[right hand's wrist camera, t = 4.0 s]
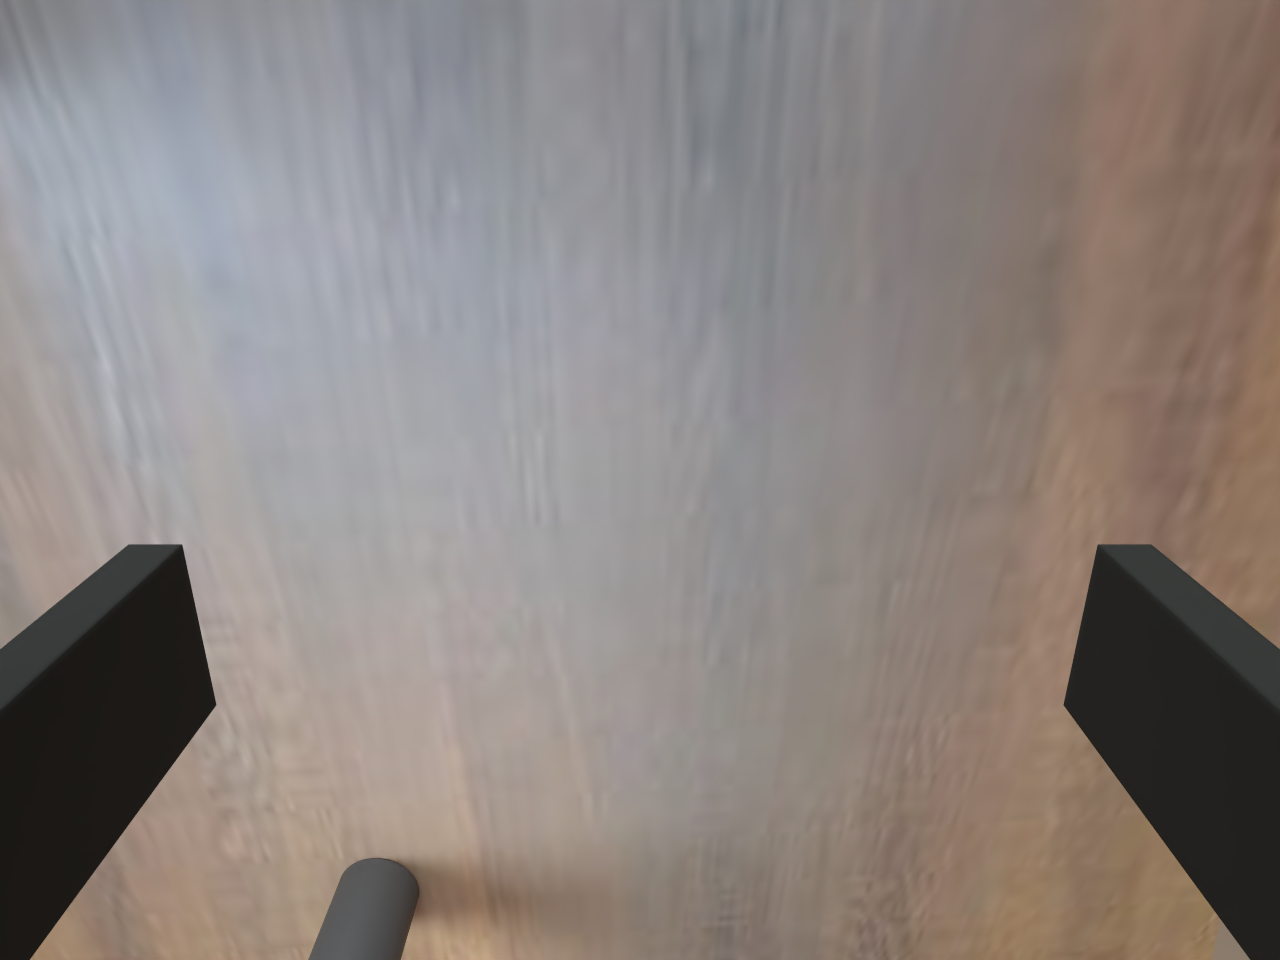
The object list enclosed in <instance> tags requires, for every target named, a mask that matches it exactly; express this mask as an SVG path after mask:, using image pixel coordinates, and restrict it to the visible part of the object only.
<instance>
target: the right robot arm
mask: <svg viewBox="0 0 1280 960" xmlns="http://www.w3.org/2000/svg"><path fill="white" fill-rule="evenodd" d="M215 706H216V701H215V696H214V692H213V687H212V682H211V677H210V673H209V668H208V663H207V659H206V654H205V649H204V645H203V640H202V635H201V631H200V626H199V621H198V616H197V612H196V607H195V602H194V598H193V593H192V588H191V584H190V579H189V574H188V570H187V565H186V560H185V556H184V551H183V546H182V545H128V546H126V547H125V548H124V549H123V550H121V551H120V552H119V553H118V554H117V555H115V556H114V557H113V558H112V559H110V560H109V561H108V562H107V563H106V564H104V565H103V566H102V567H101V568H99V569H98V570H97V571H96V572H95V573H93V574H92V575H91V576H90V577H88V578H87V579H86V580H85V581H83V582H82V583H81V584H80V585H79V586H77V587H76V588H75V589H74V590H72V591H71V592H70V593H69V594H68V595H66V596H65V597H64V598H63V599H61V600H60V601H59V602H58V603H57V604H55V605H54V606H53V607H52V608H50V609H49V610H48V611H47V612H46V613H44V614H43V615H42V616H41V617H39V618H38V619H37V620H36V621H34V622H33V623H32V624H31V625H30V626H28V627H27V628H26V629H25V630H23V631H22V632H21V633H20V634H19V635H17V636H16V637H15V638H14V639H12V640H11V641H10V642H9V643H8V644H6V645H5V646H4V647H3V648H1V649H0V960H30V959H31V957H32V956H33V954H34V953H35V952H36V950H37V949H38V948H39V946H40V945H41V944H42V942H43V941H44V939H45V938H46V937H47V935H48V934H49V933H50V931H51V930H52V929H53V927H54V926H55V924H56V923H57V922H58V920H59V919H60V918H61V916H62V915H63V914H64V912H65V911H66V909H67V908H68V907H69V905H70V904H71V903H72V901H73V900H74V899H75V897H76V896H77V894H78V893H79V892H80V890H81V889H82V888H83V886H84V885H85V884H86V882H87V881H88V879H89V878H90V877H91V875H92V874H93V873H94V871H95V870H96V869H97V867H98V866H99V864H100V863H101V862H102V860H103V859H104V858H105V856H106V855H107V854H108V852H109V851H110V849H111V848H112V847H113V845H114V844H115V843H116V841H117V840H118V839H119V837H120V836H121V834H122V833H123V832H124V830H125V829H126V828H127V826H128V825H129V824H130V822H131V821H132V819H133V818H134V817H135V815H136V814H137V813H138V811H139V810H140V809H141V807H142V806H143V804H144V803H145V802H146V800H147V799H148V798H149V796H150V795H151V794H152V792H153V791H154V789H155V788H156V787H157V785H158V784H159V783H160V781H161V780H162V779H163V777H164V776H165V774H166V773H167V772H168V770H169V769H170V768H171V766H172V765H173V764H174V762H175V761H176V759H177V758H178V757H179V755H180V754H181V753H182V751H183V750H184V749H185V747H186V746H187V744H188V743H189V742H190V740H191V739H192V738H193V736H194V735H195V734H196V732H197V731H198V729H199V728H200V727H201V725H202V724H203V723H204V721H205V720H206V718H207V717H208V716H209V714H210V713H211V712H212V710H213V709H214V708H215ZM1064 706H1065V708H1066V709H1067V710H1068V712H1069V713H1070V714H1071V716H1072V717H1073V719H1074V720H1075V721H1076V723H1077V724H1078V725H1079V727H1080V728H1081V729H1082V731H1083V732H1084V734H1085V735H1086V736H1087V738H1088V739H1089V740H1090V742H1091V743H1092V744H1093V746H1094V747H1095V749H1096V750H1097V751H1098V753H1099V754H1100V755H1101V757H1102V758H1103V759H1104V761H1105V762H1106V764H1107V765H1108V766H1109V768H1110V769H1111V770H1112V772H1113V773H1114V774H1115V776H1116V777H1117V779H1118V780H1119V781H1120V783H1121V784H1122V785H1123V787H1124V788H1125V789H1126V791H1127V792H1128V794H1129V795H1130V796H1131V798H1132V799H1133V800H1134V802H1135V803H1136V804H1137V806H1138V807H1139V809H1140V810H1141V811H1142V813H1143V814H1144V815H1145V817H1146V818H1147V819H1148V821H1149V822H1150V824H1151V825H1152V826H1153V828H1154V829H1155V830H1156V832H1157V833H1158V834H1159V836H1160V837H1161V839H1162V840H1163V841H1164V843H1165V844H1166V845H1167V847H1168V848H1169V849H1170V851H1171V852H1172V854H1173V855H1174V856H1175V858H1176V859H1177V860H1178V862H1179V863H1180V864H1181V866H1182V867H1183V869H1184V870H1185V871H1186V873H1187V874H1188V875H1189V877H1190V878H1191V879H1192V881H1193V882H1194V884H1195V885H1196V886H1197V888H1198V889H1199V890H1200V892H1201V893H1202V894H1203V896H1204V897H1205V899H1206V900H1207V901H1208V903H1209V904H1210V905H1211V907H1212V908H1213V909H1214V911H1215V912H1216V914H1217V915H1218V916H1219V918H1220V919H1221V920H1222V922H1223V923H1224V924H1225V926H1226V927H1227V929H1228V930H1229V931H1230V933H1231V934H1232V935H1233V937H1234V938H1235V939H1236V941H1237V942H1238V943H1239V945H1240V946H1241V948H1242V949H1243V950H1244V952H1245V953H1246V954H1247V956H1248V957H1249V958H1250V960H1280V649H1279V648H1277V647H1276V646H1275V645H1274V644H1272V643H1271V642H1270V641H1269V640H1268V639H1266V638H1265V637H1264V636H1263V635H1261V634H1260V633H1259V632H1258V631H1257V630H1255V629H1254V628H1253V627H1252V626H1250V625H1249V624H1248V623H1247V622H1246V621H1244V620H1243V619H1242V618H1241V617H1239V616H1238V615H1237V614H1236V613H1234V612H1233V611H1232V610H1231V609H1230V608H1228V607H1227V606H1226V605H1225V604H1223V603H1222V602H1221V601H1220V600H1219V599H1217V598H1216V597H1215V596H1214V595H1212V594H1211V593H1210V592H1209V591H1208V590H1206V589H1205V588H1204V587H1203V586H1201V585H1200V584H1199V583H1198V582H1197V581H1195V580H1194V579H1193V578H1192V577H1190V576H1189V575H1188V574H1187V573H1185V572H1184V571H1183V570H1182V569H1181V568H1179V567H1178V566H1177V565H1176V564H1174V563H1173V562H1172V561H1171V560H1170V559H1168V558H1167V557H1166V556H1165V555H1163V554H1162V553H1161V552H1160V551H1159V550H1157V549H1156V548H1155V547H1154V546H1152V545H1098V546H1097V551H1096V556H1095V560H1094V565H1093V570H1092V574H1091V579H1090V584H1089V588H1088V593H1087V598H1086V602H1085V607H1084V612H1083V616H1082V621H1081V626H1080V631H1079V635H1078V640H1077V645H1076V649H1075V654H1074V659H1073V663H1072V668H1071V673H1070V677H1069V682H1068V687H1067V692H1066V696H1065V701H1064Z"/></svg>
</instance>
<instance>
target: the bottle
mask: <svg viewBox="0 0 1280 960" xmlns="http://www.w3.org/2000/svg"><path fill="white" fill-rule="evenodd" d="M418 897H419V887H418V883H417V881H416V879H415V878H414V876H413V875H412V874H411V873H410V872H409V871H408V870H407V869H406V868H404V867H403V866H401V865H400V864H397V863H395V862H392V861H389V860H385V859H366V860H362V861H359V862H357V863H354V864H353V865H351V866H350V867H349V868H347V869H346V871H345V872H344V873H343V875H342V877H341V879H340V882H339V884H338V887H337V889H336V892H335V894H334V897H333V899H332V902H331V904H330V907H329V909H328V912H327V914H326V917H325V919H324V922H323V924H322V927H321V929H320V932H319V934H318V937H317V939H316V942H315V944H314V947H313V949H312V952H311V954H310V957H309V959H308V960H401V957H402V953H403V950H404V946H405V943H406V939H407V936H408V932H409V929H410V925H411V922H412V918H413V915H414V911H415V908H416V904H417V901H418Z"/></svg>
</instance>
